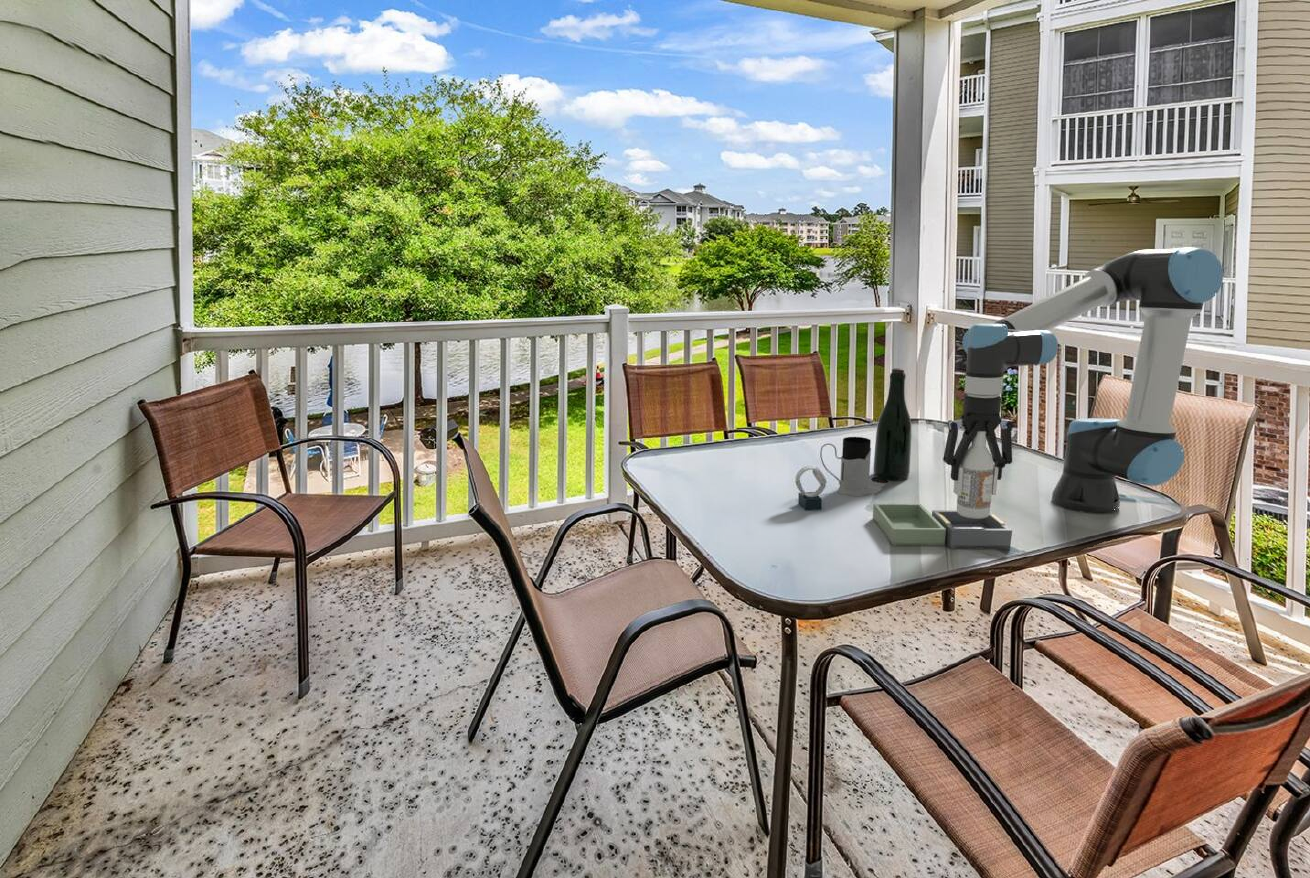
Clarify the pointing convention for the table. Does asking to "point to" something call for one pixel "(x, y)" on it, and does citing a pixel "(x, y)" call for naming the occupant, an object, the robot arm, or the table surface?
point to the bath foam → (976, 480)
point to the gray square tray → (974, 531)
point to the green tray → (908, 525)
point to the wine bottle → (893, 433)
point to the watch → (811, 498)
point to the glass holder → (853, 466)
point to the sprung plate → (969, 526)
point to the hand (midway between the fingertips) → (974, 493)
